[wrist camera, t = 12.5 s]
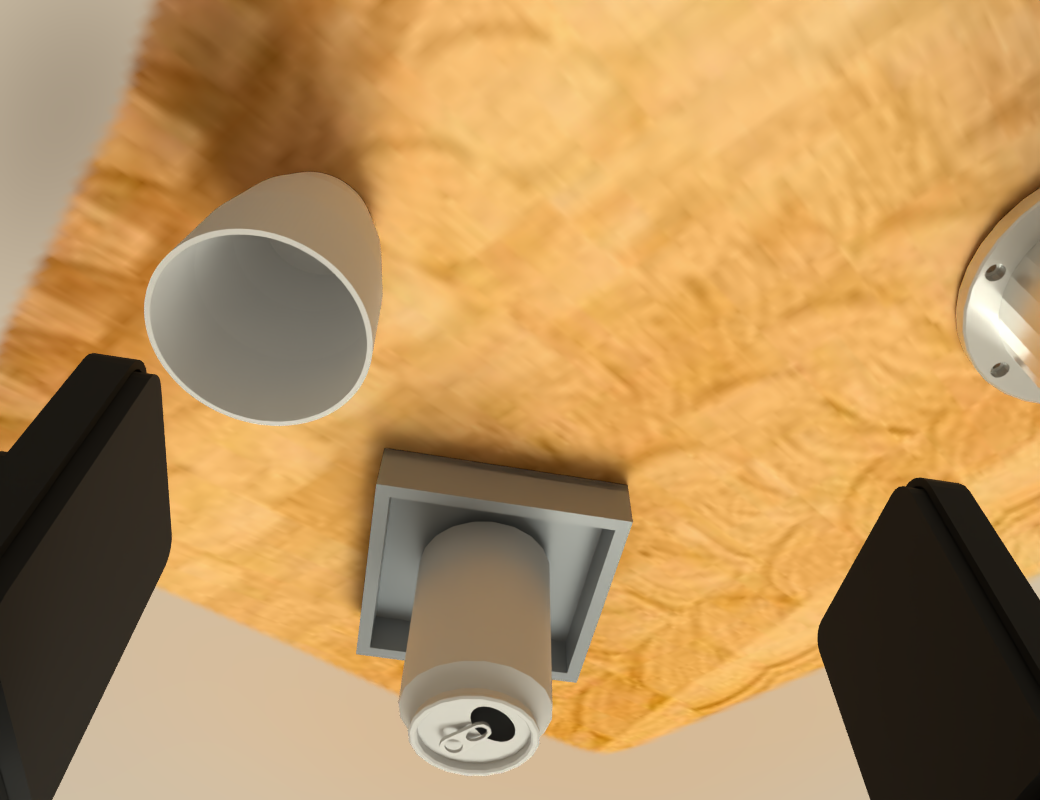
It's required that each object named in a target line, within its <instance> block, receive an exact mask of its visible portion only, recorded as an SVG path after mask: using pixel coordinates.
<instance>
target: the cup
mask: <svg viewBox="0 0 1040 800" xmlns="http://www.w3.org/2000/svg"><path fill="white" fill-rule="evenodd" d="M381 303H382V264H381V246H380V241H379V237H378V233H377V231H376V228H375V226H374V223H373V221H372V218H371V216H370V213H369V211H368V209H367V207H366V205H365V203H364V201H363V200H362V199H361V197H360V196H359V195H358V194H357V192H356V191H355V190H353V189H352V188H351V187H350V186H349V185H347V184H346V183H345V182H343V181H341V180H340V179H338V178H336V177H333V176H331V175H328V174H324V173H319V172H300V173H293V174H287V175H281V176H276V177H272V178H269V179H267V180H264V181H262V182H260V183H258V184H256V185H255V186H253V187H251V188H250V189H248V190H246V191H245V192H243V193H241V194H239V195H238V196H236V197H234V198H233V199H231V200H229V201H228V202H226V203H224V204H222V205H221V206H219V207H218V208H217V209H215V210H214V211H213V212H212V213H211V214H210V215H209V216H208V217H207V218H206V219H205V220H204V221H203V222H201V223H200V224H199V225H198V226H197V227H196V228H195V229H194V230H193V231H192V232H191V233H190V234H189V235H188V236H187V237H186V238H185V239H184V240H183V241H182V242H180V243H179V244H178V245H177V246H176V247H175V248H174V249H173V250H172V251H171V252H170V253H169V254H168V255H167V256H166V257H165V258H164V259H163V260H162V261H161V263H160V264H159V265H158V267H157V268H156V270H155V271H154V273H153V275H152V277H151V279H150V282H149V284H148V288H147V291H146V296H145V304H144V316H145V324H146V329H147V333H148V337H149V340H150V342H151V345H152V347H153V349H154V352H155V353H156V355H157V357H158V359H159V361H160V362H161V364H162V365H163V367H164V368H165V369H166V371H167V372H168V373H169V374H170V376H171V377H172V378H173V379H174V380H175V381H176V382H177V383H178V384H179V385H180V386H181V387H182V388H183V389H184V390H185V391H186V392H188V393H189V394H190V395H191V396H193V397H194V398H195V399H197V400H198V401H200V402H201V403H203V404H205V405H206V406H208V407H210V408H212V409H213V410H215V411H218V412H220V413H222V414H224V415H227V416H229V417H232V418H235V419H238V420H241V421H245V422H249V423H254V424H261V425H271V426H286V425H296V424H302V423H306V422H310V421H314V420H317V419H319V418H322V417H324V416H326V415H328V414H330V413H332V412H334V411H335V410H337V409H339V408H340V407H341V406H343V405H344V404H345V403H346V402H347V401H349V400H350V399H351V398H352V397H353V395H354V394H355V393H356V392H357V391H358V389H359V388H360V386H361V385H362V383H363V381H364V379H365V377H366V375H367V373H368V370H369V367H370V363H371V358H372V353H373V347H374V342H375V336H376V331H377V325H378V320H379V314H380V309H381Z"/></svg>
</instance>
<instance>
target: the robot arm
mask: <svg viewBox="0 0 1040 800" xmlns="http://www.w3.org/2000/svg"><path fill="white" fill-rule="evenodd" d="M956 324H957V334H958V337H959V340H960V343H961V346H962V349H963V351H964V353H965V354H966V356H967V357H968V359H969V360H970V362H971V363H972V365H973V366H974V367H975V369H976V370H977V371H978V372H979V373H980V375H981V376H982V377H983V378H984V379H985V380H986V381H987V382H988V383H989V384H991V385H992V386H994V387H995V388H997V389H998V390H1000V391H1002V392H1003V393H1005V394H1007V395H1010V396H1012V397H1015V398H1018V399H1020V400H1023V401H1027V402H1033V403H1039V404H1040V188H1039V189H1038V190H1036V191H1035V192H1033V193H1032V194H1030V195H1029V196H1027V197H1026V198H1025V199H1023V200H1022V201H1021V202H1020V203H1019V204H1018V205H1016V206H1015V207H1014V208H1013V209H1012V210H1011V211H1010V212H1009V213H1008V214H1007V215H1006V216H1005V217H1003V218H1002V219H1001V220H1000V221H999V222H998V224H997V225H996V226H995V227H994V229H993V230H992V231H991V232H990V233H989V235H988V236H987V237H986V238H985V240H984V241H983V242H982V243H981V245H980V247H979V248H978V250H977V252H976V253H975V255H974V257H973V259H972V260H971V262H970V264H969V265H968V267H967V270H966V273H965V275H964V278H963V281H962V284H961V286H960V289H959V294H958V300H957V307H956ZM171 541H172V532H171V518H170V504H169V490H168V476H167V462H166V448H165V435H164V421H163V407H162V393H161V383H160V379H159V377H158V376H157V375H155V374H148V373H146V368H145V365H144V363H143V362H142V361H140V360H136V359H129V358H122V357H116V356H109V355H103V354H96V353H92V354H89V355H87V356H86V357H85V358H84V359H83V360H82V362H81V363H80V364H79V365H78V367H77V368H76V369H75V370H74V371H73V373H72V374H71V375H70V376H69V378H68V379H67V380H66V381H65V382H64V384H63V385H62V386H61V387H60V389H59V390H58V391H57V392H56V394H55V395H54V396H53V397H52V398H51V400H50V401H49V402H48V403H47V405H46V406H45V407H44V408H43V409H42V411H41V412H40V413H39V414H38V416H37V417H36V418H35V419H34V421H33V422H32V423H31V424H30V425H29V427H28V428H27V429H26V430H25V432H24V433H23V434H22V435H21V436H20V438H19V439H18V440H17V441H16V443H15V444H14V445H13V446H12V448H11V449H10V450H9V451H8V452H4V451H0V800H52V799H53V797H54V795H55V793H56V791H57V789H58V787H59V785H60V783H61V780H62V778H63V776H64V774H65V772H66V770H67V768H68V766H69V764H70V762H71V760H72V757H73V756H74V754H75V752H76V749H77V747H78V745H79V743H80V741H81V739H82V737H83V735H84V733H85V731H86V729H87V727H88V725H89V723H90V720H91V719H92V716H93V714H94V712H95V710H96V708H97V706H98V704H99V702H100V700H101V698H102V696H103V694H104V692H105V689H106V687H107V685H108V683H109V681H110V679H111V677H112V675H113V673H114V671H115V669H116V667H117V665H118V662H119V661H120V659H121V656H122V654H123V652H124V650H125V648H126V646H127V644H128V642H129V640H130V638H131V636H132V633H133V632H134V630H135V628H136V625H137V623H138V621H139V619H140V617H141V615H142V613H143V611H144V609H145V607H146V605H147V603H148V601H149V599H150V597H151V594H152V592H153V590H154V588H155V586H156V584H157V582H158V580H159V578H160V576H161V574H162V572H163V570H164V568H165V565H166V563H167V560H168V557H169V553H170V549H171ZM818 647H819V652H820V654H821V657H822V660H823V663H824V666H825V669H826V672H827V675H828V678H829V681H830V684H831V687H832V689H833V692H834V695H835V698H836V701H837V704H838V707H839V710H840V713H841V715H842V719H843V722H844V724H845V727H846V730H847V733H848V736H849V739H850V742H851V745H852V748H853V750H854V754H855V757H856V759H857V762H858V765H859V768H860V771H861V774H862V777H863V780H864V783H865V786H866V789H867V791H868V794H869V797H870V800H1040V600H1039V598H1038V596H1037V595H1036V593H1035V592H1034V590H1033V589H1032V587H1031V586H1030V584H1029V583H1028V581H1027V579H1026V578H1025V576H1024V575H1023V573H1022V572H1021V570H1020V569H1019V567H1018V565H1017V564H1016V562H1015V561H1014V559H1013V558H1012V556H1011V555H1010V553H1009V551H1008V550H1007V548H1006V547H1005V545H1004V544H1003V542H1002V541H1001V539H1000V537H999V536H998V534H997V533H996V531H995V530H994V528H993V527H992V525H991V524H990V522H989V520H988V519H987V517H986V516H985V514H984V513H983V511H982V510H981V508H980V506H979V505H978V503H977V502H976V500H975V499H974V497H973V496H972V494H971V492H970V491H969V490H968V489H967V488H966V487H965V486H964V485H962V484H959V483H953V482H946V481H940V480H933V479H926V478H914V479H913V480H911V481H910V482H909V483H908V484H907V486H906V487H905V486H902V487H898V488H897V489H895V491H894V492H893V493H892V495H891V497H890V498H889V500H888V502H887V504H886V506H885V507H884V509H883V511H882V513H881V515H880V516H879V518H878V520H877V522H876V524H875V525H874V527H873V529H872V531H871V533H870V534H869V536H868V538H867V540H866V542H865V543H864V545H863V547H862V549H861V550H860V552H859V554H858V556H857V558H856V559H855V561H854V563H853V565H852V567H851V568H850V570H849V572H848V574H847V576H846V577H845V579H844V581H843V583H842V585H841V586H840V588H839V590H838V592H837V594H836V595H835V597H834V599H833V601H832V603H831V604H830V606H829V608H828V610H827V611H826V613H825V615H824V617H823V619H822V620H821V623H820V625H819V630H818Z"/></svg>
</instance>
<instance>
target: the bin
mask: <svg viewBox="0 0 1040 800" xmlns="http://www.w3.org/2000/svg"><path fill="white" fill-rule="evenodd" d="M476 521H477V522H496V523H500V524H504V525H508V526H512V527H515V528H517V529H519V530H520V531H522V532H524V533H526V534H528V535H530V536H531V537H532V538H533V539H534V540H535V541H536V542H537V543H538V544H539V545H540V546H541V547H542V548H543V549H544V552H545V554H546V556H547V559H548V561H549V573H550V620H551V667H552V680H560V681H567V682H575V683H576V682H577V680H578V677H579V674H580V671H581V668H582V665H583V662H584V660H585V657H586V654H587V651H588V648H589V645H590V643H591V640H592V637H593V634H594V631H595V628H596V625H597V623H598V620H599V617H600V614H601V611H602V608H603V605H604V603H605V600H606V597H607V594H608V591H609V588H610V586H611V583H612V580H613V577H614V574H615V571H616V568H617V566H618V563H619V560H620V557H621V554H622V551H623V548H624V546H625V543H626V540H627V537H628V534H629V531H630V529H631V526H632V523H633V520H632V513H631V506H630V499H629V492H628V485H623V484H617V483H610V482H604V481H597V480H591V479H584V478H578V477H571V476H564V475H558V474H551V473H545V472H538V471H532V470H525V469H519V468H512V467H506V466H499V465H492V464H486V463H479V462H473V461H466V460H460V459H453V458H447V457H440V456H433V455H427V454H420V453H414V452H407V451H401V450H394V449H388V448H385V449H384V453H383V457H382V462H381V466H380V470H379V475H378V479H377V483H376V491H375V499H374V508H373V516H372V525H371V533H370V542H369V550H368V559H367V567H366V575H365V584H364V592H363V601H362V609H361V618H360V626H359V635H358V643H357V652H356V654H359V655H367V656H375V657H382V658H390V659H398V660H405V656H406V650H407V643H408V636H409V630H410V623H411V617H412V610H413V603H414V597H415V590H416V584H417V577H418V570H419V564H420V560H421V557H422V554H423V552H424V549H425V547H426V546H427V545H428V544H429V543H430V542H431V541H432V539H433V538H434V537H435V536H436V535H438V534H440V533H442V532H443V531H445V530H447V529H449V528H451V527H453V526H457V525H461V524H465V523H469V522H476Z"/></svg>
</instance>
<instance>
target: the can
mask: <svg viewBox="0 0 1040 800" xmlns="http://www.w3.org/2000/svg"><path fill="white" fill-rule="evenodd" d="M398 703H399V711H400V717H401V719H402V721H403V722H404V724H405V725H406V727H407V728H408V736H409V742H410V744H411V746H412V747H413V749H414V751H415V752H416V753H417V755H419V756H420V757H421V758H422V759H424V760H425V761H427V762H428V763H429V764H430V765H432V766H435V767H437V768H440V769H442V770H444V771H447V772H451V773H456V774H461V775H466V776H487V775H493V774H497V773H503V772H506V771H509V770H511V769H513V768H516V767H518V766H520V765H522V764H523V763H524V762H525V761H527V760H528V759H529V758H531V757H532V756H533V754H534V753H535V751H536V749H537V747H538V746H539V737H540V736H541V735H542V734H543V733H544V732H545V730H546V729H547V727H548V725H549V723H550V721H551V720H552V667H551V620H550V573H549V561H548V559H547V556H546V554H545V552H544V549H543V548H542V547H541V546H540V545H539V544H538V543H537V542H536V541H535V540H534V539H533V538H532V537H531V536H530V535H528V534H526V533H524V532H522V531H520V530H519V529H517V528H515V527H512V526H508V525H504V524H500V523H496V522H477V521H476V522H469V523H465V524H461V525H457V526H453V527H451V528H449V529H447V530H445V531H443V532H442V533H440V534H438V535H436V536H435V537H434V538H433V539H432V541H431V542H430V543H429V544H428V545H427V546H426V547H425V549H424V552H423V554H422V557H421V560H420V564H419V570H418V577H417V584H416V590H415V597H414V603H413V610H412V617H411V623H410V630H409V636H408V643H407V650H406V656H405V663H404V669H403V676H402V683H401V689H400V696H399V702H398Z"/></svg>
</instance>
